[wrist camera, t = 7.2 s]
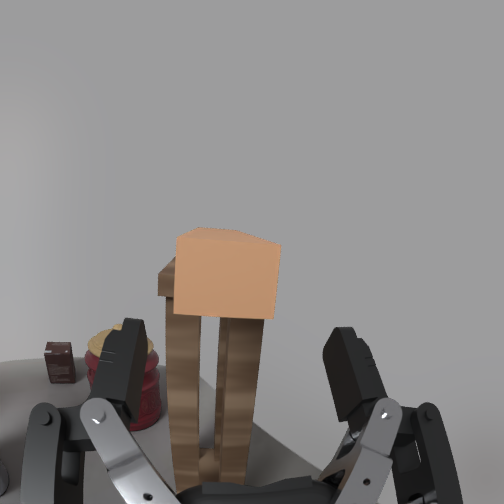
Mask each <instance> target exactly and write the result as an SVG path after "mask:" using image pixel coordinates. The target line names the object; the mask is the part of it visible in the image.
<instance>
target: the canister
mask: <svg viewBox="0 0 504 504" xmlns="http://www.w3.org/2000/svg"><path fill="white" fill-rule="evenodd" d="M112 329H115V330H121V329H122V324H116V325H114V326H113V328H112ZM112 329H108V330H104V331H102V332H100V333H98V334H97V335H96V336H94V337H92V338H91V339H90V340H89V342H88V349H89V350H88V351H87V352H86V354H85V362H86V364H87V366H88V367H89V369H88V372H87V378H88V380H89V383H90V389H92V385H93V381H94V377H95V373H96V369H97V365H98V361H99V358H100V354H101V352H102V347H103V343H104V340H105V338H106V337H107V335H108V334H109V333H110V332H111V331H112ZM147 340H148V355H147V361H146V367H145V373H144V380H143V387H142V394H141V401H140V408H139V417H138V424H137V423H130V431H137V430H142V429H145V428H147V427H149V426H151V425H153V424H154V423H155V422H156V421H157V420H158V419H159V417H160V412H161V399H160V393H159V378H160V374H159V371H158V369H157V368H156V366H157V364H158V362H159V357H158V355H157V353H156V352H155V351H154V350H153V343H152V341H151V340H150V339H149V338H147Z"/></svg>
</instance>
